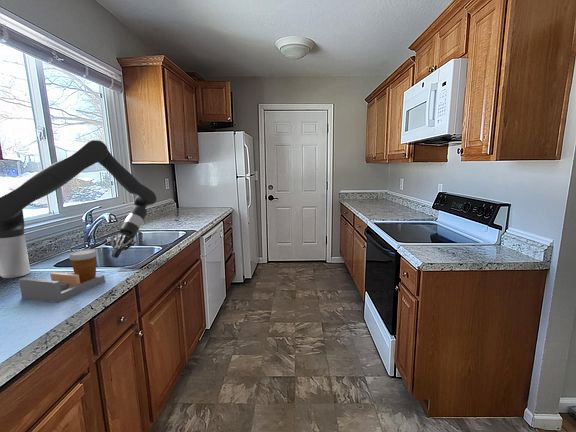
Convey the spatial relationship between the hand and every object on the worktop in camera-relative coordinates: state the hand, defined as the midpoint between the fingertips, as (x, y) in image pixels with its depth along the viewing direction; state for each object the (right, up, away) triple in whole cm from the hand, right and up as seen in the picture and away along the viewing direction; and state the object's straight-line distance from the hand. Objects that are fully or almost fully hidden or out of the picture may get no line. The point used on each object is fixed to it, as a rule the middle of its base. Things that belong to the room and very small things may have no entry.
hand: (114, 257), depth 135 cm
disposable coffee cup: (-3, -8, -14) cm, 16 cm away
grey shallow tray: (-5, -9, -21) cm, 24 cm away
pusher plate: (-6, -9, -23) cm, 25 cm away
